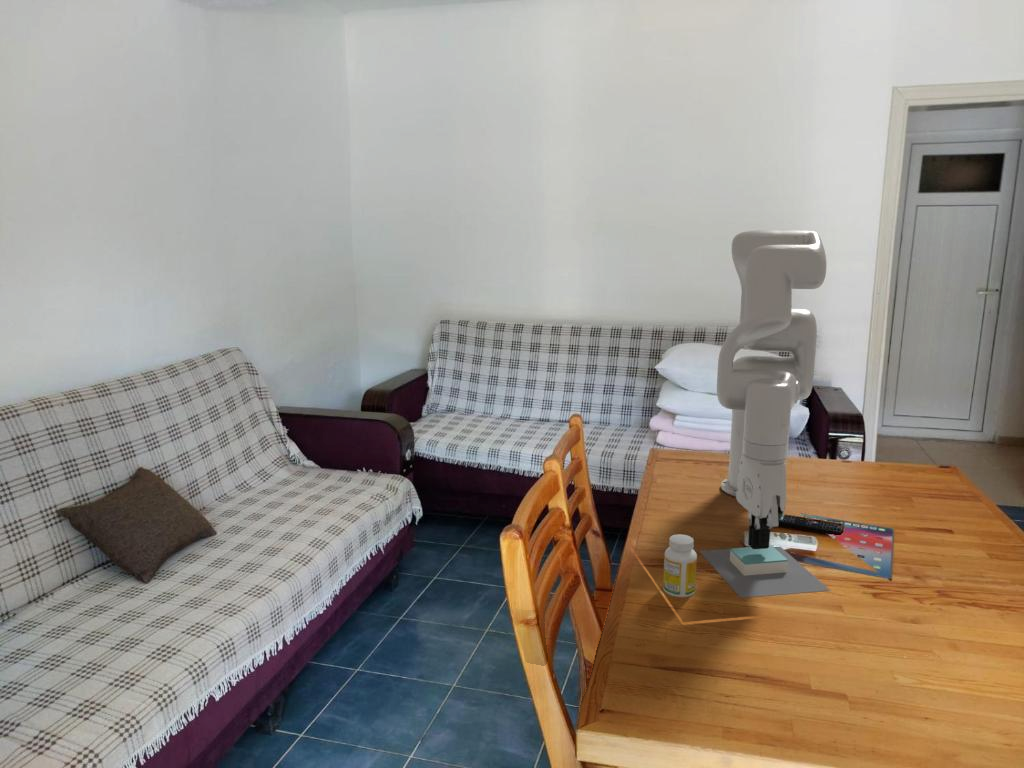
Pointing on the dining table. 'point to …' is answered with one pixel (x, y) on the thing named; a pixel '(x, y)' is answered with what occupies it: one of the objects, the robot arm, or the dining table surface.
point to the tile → (758, 560)
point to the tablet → (859, 548)
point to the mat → (764, 577)
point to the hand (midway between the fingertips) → (758, 546)
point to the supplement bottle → (680, 566)
